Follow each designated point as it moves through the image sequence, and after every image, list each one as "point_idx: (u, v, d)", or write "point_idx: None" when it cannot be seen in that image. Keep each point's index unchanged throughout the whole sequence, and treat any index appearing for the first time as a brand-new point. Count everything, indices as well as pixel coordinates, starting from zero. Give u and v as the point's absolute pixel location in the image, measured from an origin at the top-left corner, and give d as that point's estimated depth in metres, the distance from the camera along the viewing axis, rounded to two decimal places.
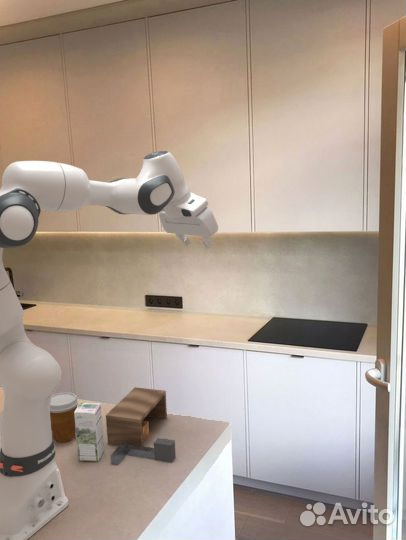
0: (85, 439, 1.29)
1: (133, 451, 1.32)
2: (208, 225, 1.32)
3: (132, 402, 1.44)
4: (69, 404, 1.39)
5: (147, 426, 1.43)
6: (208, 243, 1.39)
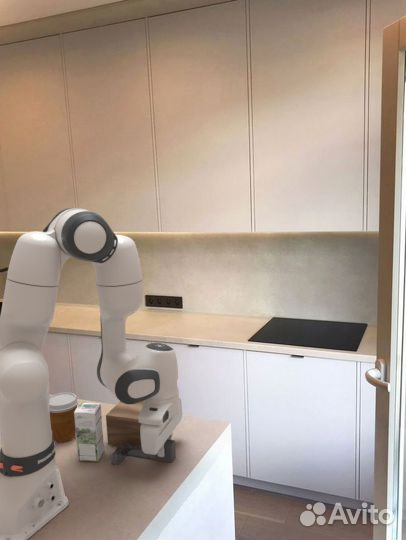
0: (85, 439, 1.29)
1: (133, 451, 1.32)
2: (144, 441, 1.20)
3: None
4: (69, 404, 1.39)
5: None
6: (159, 452, 1.28)
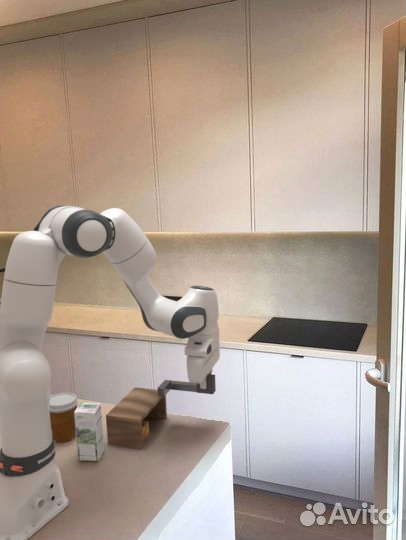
0: (85, 439, 1.29)
1: (177, 385, 1.46)
2: (190, 371, 1.34)
3: (132, 402, 1.44)
4: (69, 404, 1.39)
5: (147, 426, 1.43)
6: (202, 384, 1.41)
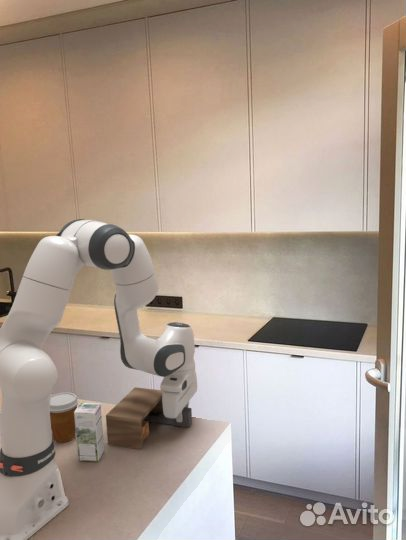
0: (85, 439, 1.29)
1: (154, 418, 1.50)
2: (165, 406, 1.38)
3: (132, 402, 1.44)
4: (69, 404, 1.39)
5: (147, 426, 1.43)
6: (178, 418, 1.45)
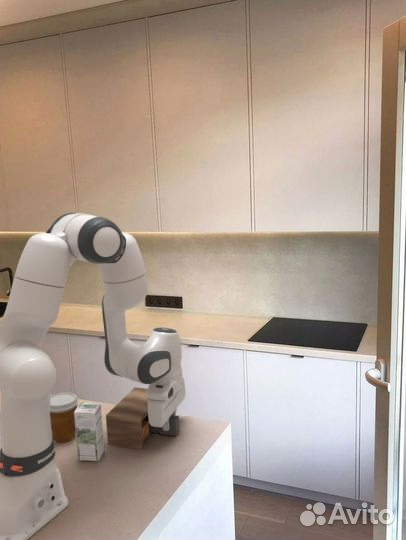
0: (85, 439, 1.29)
1: None
2: (151, 415, 1.33)
3: (132, 402, 1.44)
4: (69, 404, 1.39)
5: (147, 426, 1.43)
6: (164, 426, 1.40)
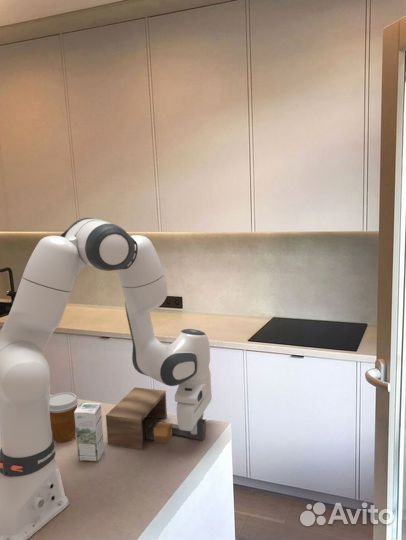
0: (85, 439, 1.29)
1: None
2: (180, 419, 1.30)
3: (132, 402, 1.44)
4: (69, 404, 1.39)
5: (170, 428, 1.41)
6: (192, 430, 1.38)
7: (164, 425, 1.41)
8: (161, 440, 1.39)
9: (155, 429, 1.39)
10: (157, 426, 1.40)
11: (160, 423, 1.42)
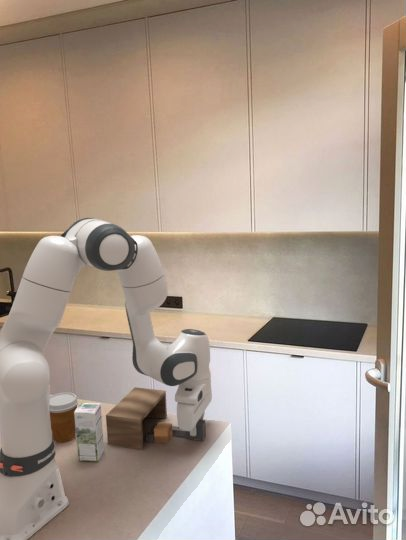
0: (85, 439, 1.29)
1: None
2: (180, 419, 1.30)
3: (132, 402, 1.44)
4: (69, 404, 1.39)
5: (171, 428, 1.41)
6: (191, 431, 1.37)
7: (164, 425, 1.41)
8: (162, 440, 1.39)
9: (155, 429, 1.39)
10: (157, 426, 1.40)
11: (160, 423, 1.42)
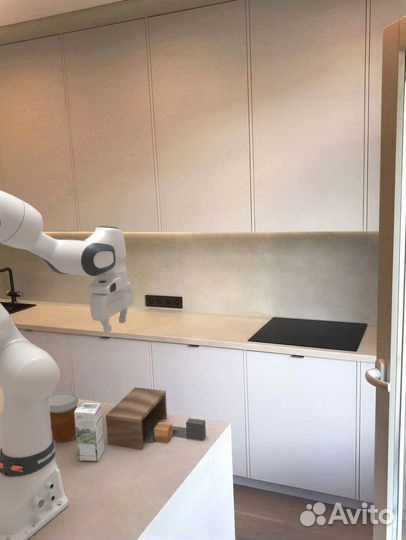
0: (85, 439, 1.29)
1: None
2: (93, 308, 1.34)
3: (132, 402, 1.44)
4: (69, 404, 1.39)
5: (171, 428, 1.41)
6: (105, 328, 1.39)
7: (164, 425, 1.41)
8: (162, 440, 1.39)
9: (155, 429, 1.39)
10: (157, 426, 1.40)
11: (160, 423, 1.42)
